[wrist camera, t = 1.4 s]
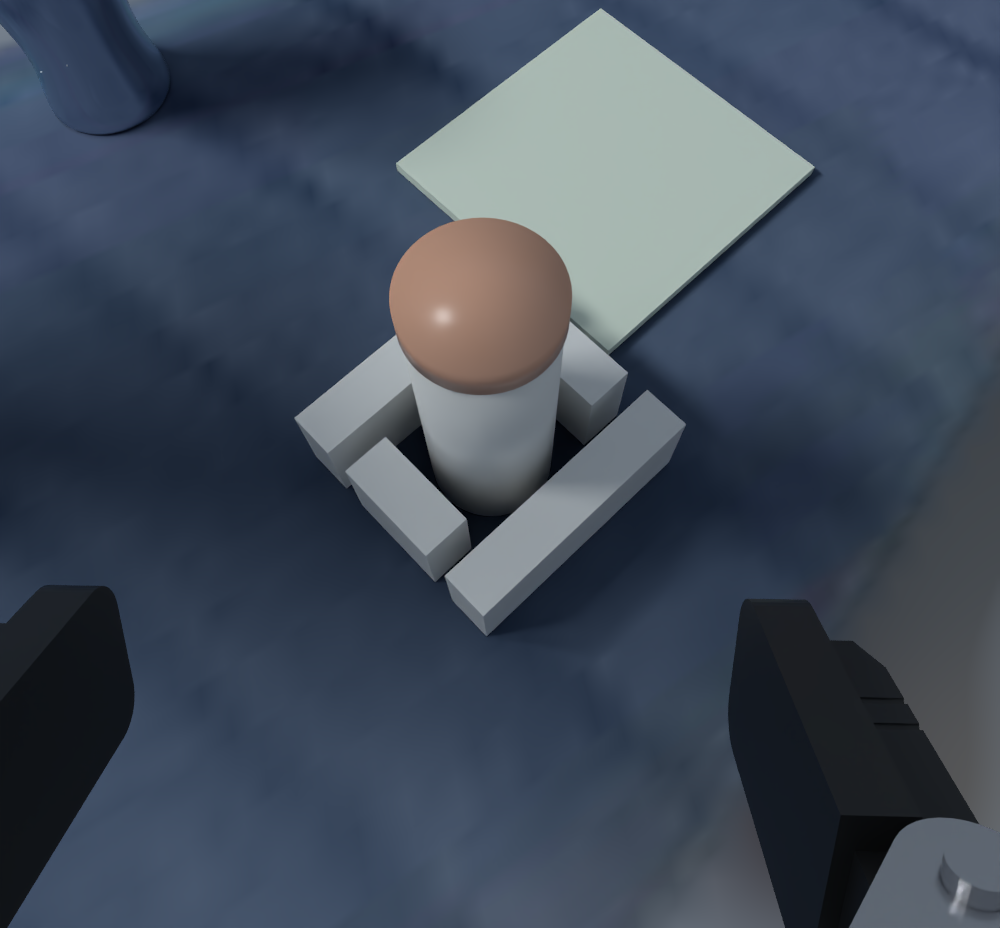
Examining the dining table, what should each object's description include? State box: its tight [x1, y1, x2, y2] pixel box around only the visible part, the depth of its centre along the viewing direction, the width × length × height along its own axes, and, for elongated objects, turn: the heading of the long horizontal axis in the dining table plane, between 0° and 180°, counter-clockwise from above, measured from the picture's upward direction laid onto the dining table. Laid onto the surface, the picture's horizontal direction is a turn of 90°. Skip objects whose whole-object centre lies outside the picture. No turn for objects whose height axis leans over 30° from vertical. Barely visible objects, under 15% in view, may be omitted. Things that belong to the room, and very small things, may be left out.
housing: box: [294, 322, 686, 636], centre depth 35 cm, size 10×10×4 cm
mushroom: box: [389, 218, 572, 516], centre depth 31 cm, size 5×5×13 cm
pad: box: [396, 9, 815, 355], centre depth 42 cm, size 14×14×1 cm
